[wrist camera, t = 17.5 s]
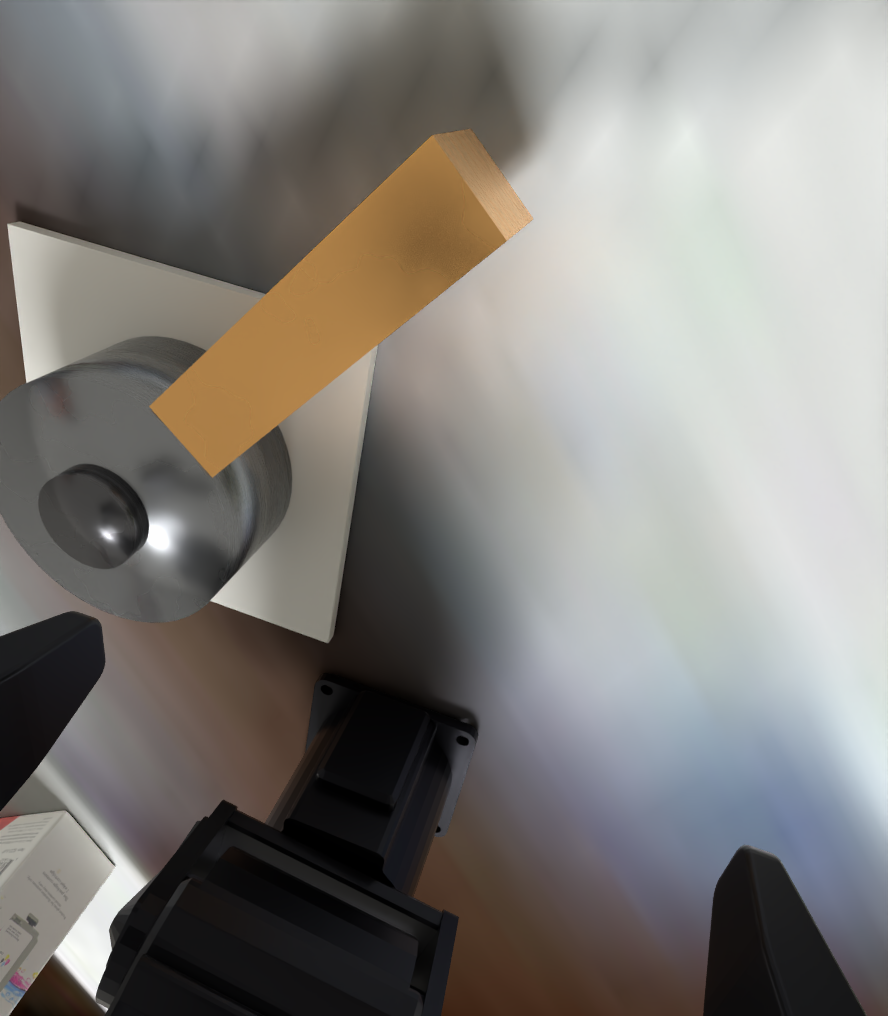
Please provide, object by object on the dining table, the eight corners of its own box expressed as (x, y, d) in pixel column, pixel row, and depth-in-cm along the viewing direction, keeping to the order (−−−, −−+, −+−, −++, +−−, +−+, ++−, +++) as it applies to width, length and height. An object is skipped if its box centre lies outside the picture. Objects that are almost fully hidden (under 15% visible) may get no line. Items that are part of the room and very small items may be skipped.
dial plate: (333, 635, 27) (328, 643, 27) (54, 534, 29) (45, 540, 29) (380, 327, 21) (374, 332, 21) (19, 221, 23) (6, 223, 22)
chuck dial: (197, 588, 27) (112, 672, 23) (39, 420, 26) (-81, 481, 22) (604, 307, 18) (582, 366, 14) (407, 19, 17) (319, -4, 13)
